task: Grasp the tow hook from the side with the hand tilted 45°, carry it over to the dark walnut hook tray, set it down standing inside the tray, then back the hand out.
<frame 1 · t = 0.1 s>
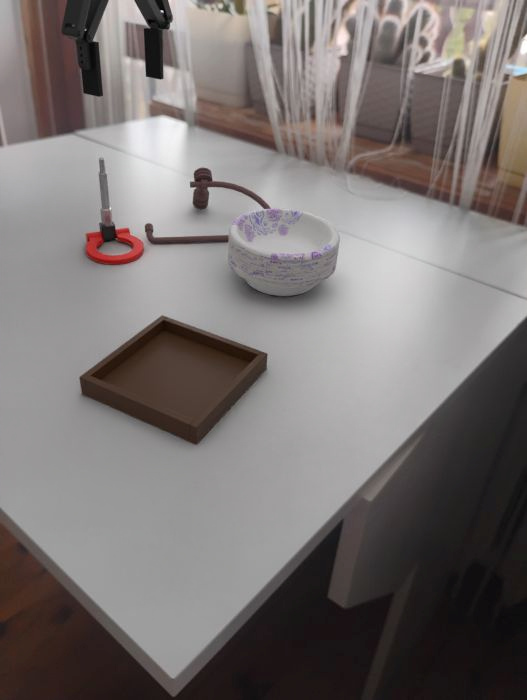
hand: (125, 86, 89), 22 cm above the table, tool pointing down, fingers open, 13 cm apart
tow hook: (114, 251, 94), on the table
toilet paper hanger: (209, 223, 105), on the table
hook tray: (177, 381, 70), on the table
paper bowls: (280, 281, 90), on the table
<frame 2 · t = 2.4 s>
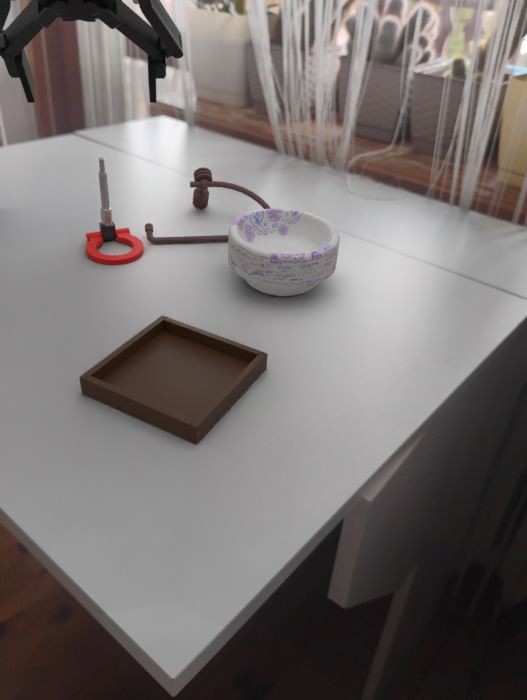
hand: (92, 92, 72), 25 cm above the table, tool tilted 40°, fingers open, 13 cm apart
nothing on the table moved.
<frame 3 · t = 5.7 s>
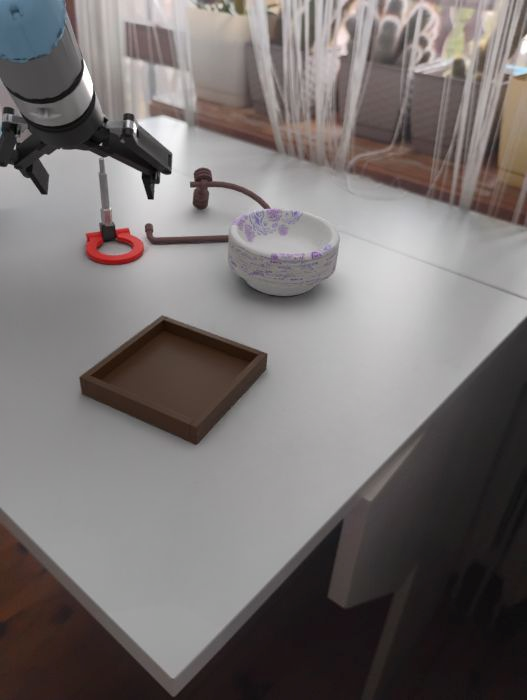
hand: (98, 187, 81), 12 cm above the table, tool tilted 45°, fingers open, 13 cm apart
nothing on the table moved.
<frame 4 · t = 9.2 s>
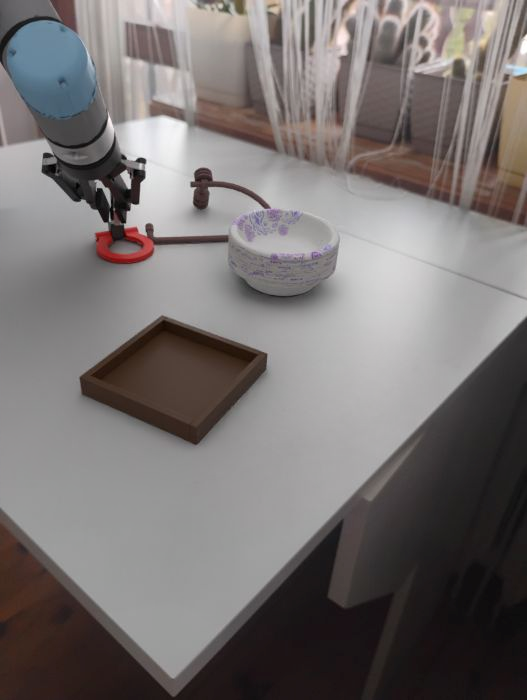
hand: (115, 214, 95), 4 cm above the table, tool tilted 45°, fingers closed on tow hook, 2 cm apart
tow hook: (124, 250, 95), on the table, touching gripper, toilet paper hanger
toilet paper hanger: (209, 223, 105), on the table, touching tow hook
everything else where it was.
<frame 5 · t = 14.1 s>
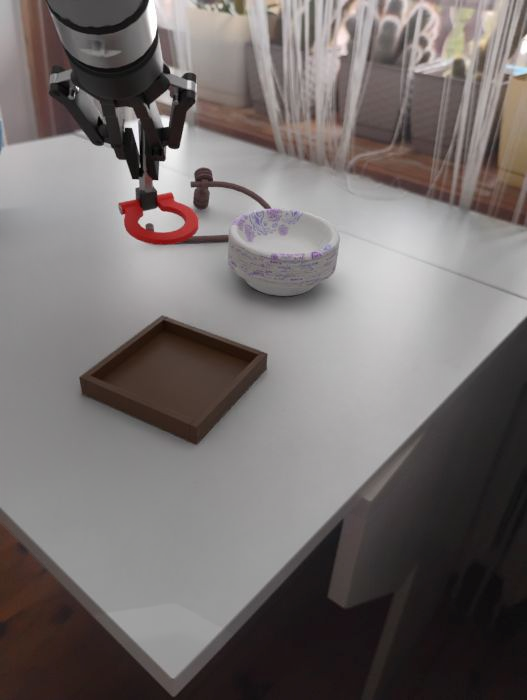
hand: (145, 168, 72), 18 cm above the table, tool tilted 45°, fingers closed on tow hook, 1 cm apart
tow hook: (160, 225, 73), point 13 cm above the table, touching gripper
toilet paper hanger: (209, 223, 105), on the table
everything else where it was.
when the fingers open (7 cm above the table, at t = 18.8 s): tow hook stays where it is, resting on hook tray.
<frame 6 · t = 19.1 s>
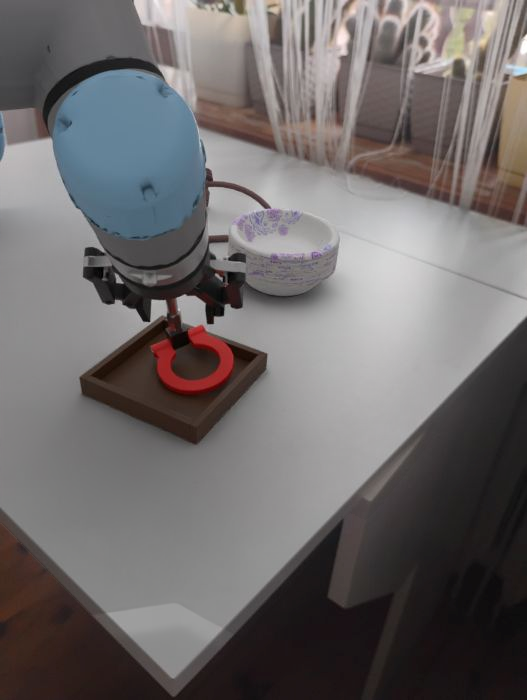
hand: (179, 311, 68), 7 cm above the table, tool tilted 45°, fingers open, 6 cm apart
tow hook: (194, 366, 70), point 1 cm above the table, touching hook tray
everything else where it was.
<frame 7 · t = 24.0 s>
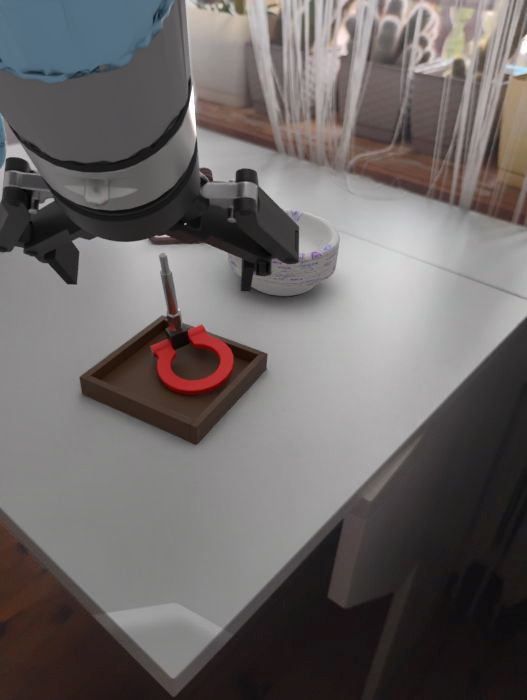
hand: (160, 271, 50), 19 cm above the table, tool tilted 45°, fingers open, 13 cm apart
nothing on the table moved.
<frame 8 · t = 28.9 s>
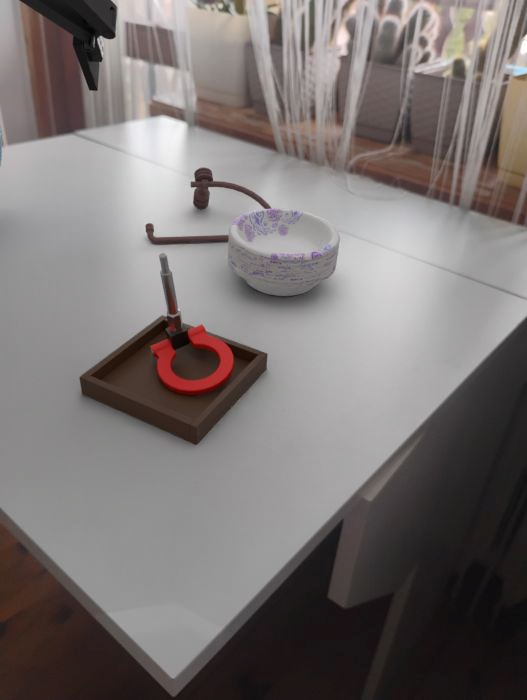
hand: (19, 73, 57), 30 cm above the table, tool tilted 45°, fingers open, 13 cm apart
nothing on the table moved.
at the end: tow hook inside the target area in the hook tray (2.1 cm from its centre), point 1.4 cm above the hook tray's base; tow hook tilted 10°; the gripper is holding nothing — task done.
